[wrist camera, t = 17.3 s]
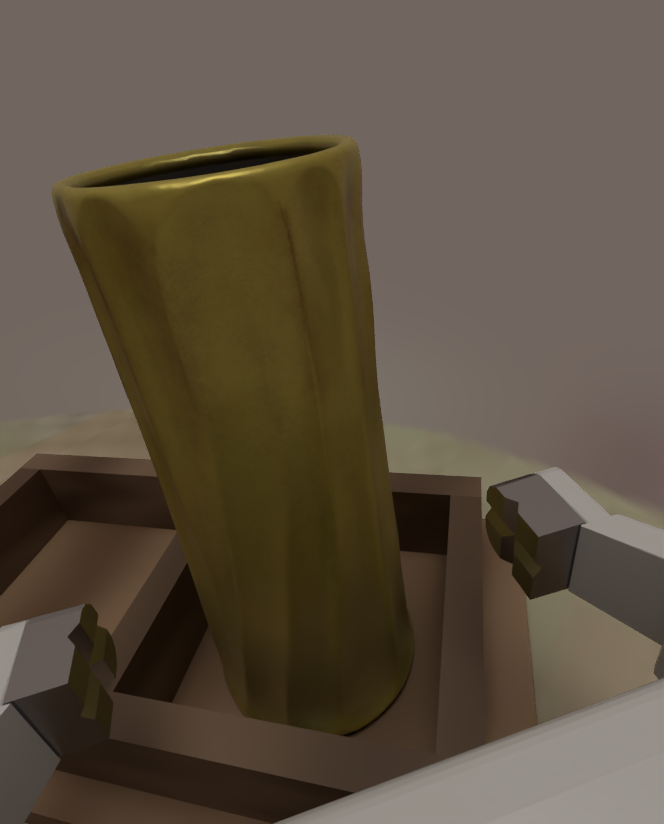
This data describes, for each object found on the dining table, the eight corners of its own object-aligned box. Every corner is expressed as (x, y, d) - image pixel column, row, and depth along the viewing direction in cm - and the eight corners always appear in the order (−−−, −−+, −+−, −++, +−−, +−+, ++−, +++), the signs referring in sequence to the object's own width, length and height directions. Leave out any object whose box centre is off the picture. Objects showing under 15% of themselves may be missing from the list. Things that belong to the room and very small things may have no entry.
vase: (197, 628, 17) (4, 181, 10) (343, 541, 20) (280, 132, 12) (281, 797, 13) (44, 217, 5) (456, 658, 15) (466, 126, 8)
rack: (-181, 764, 16) (-281, 695, 14) (62, 504, 26) (25, 439, 24) (552, 973, 11) (580, 914, 8) (516, 543, 20) (524, 461, 18)
